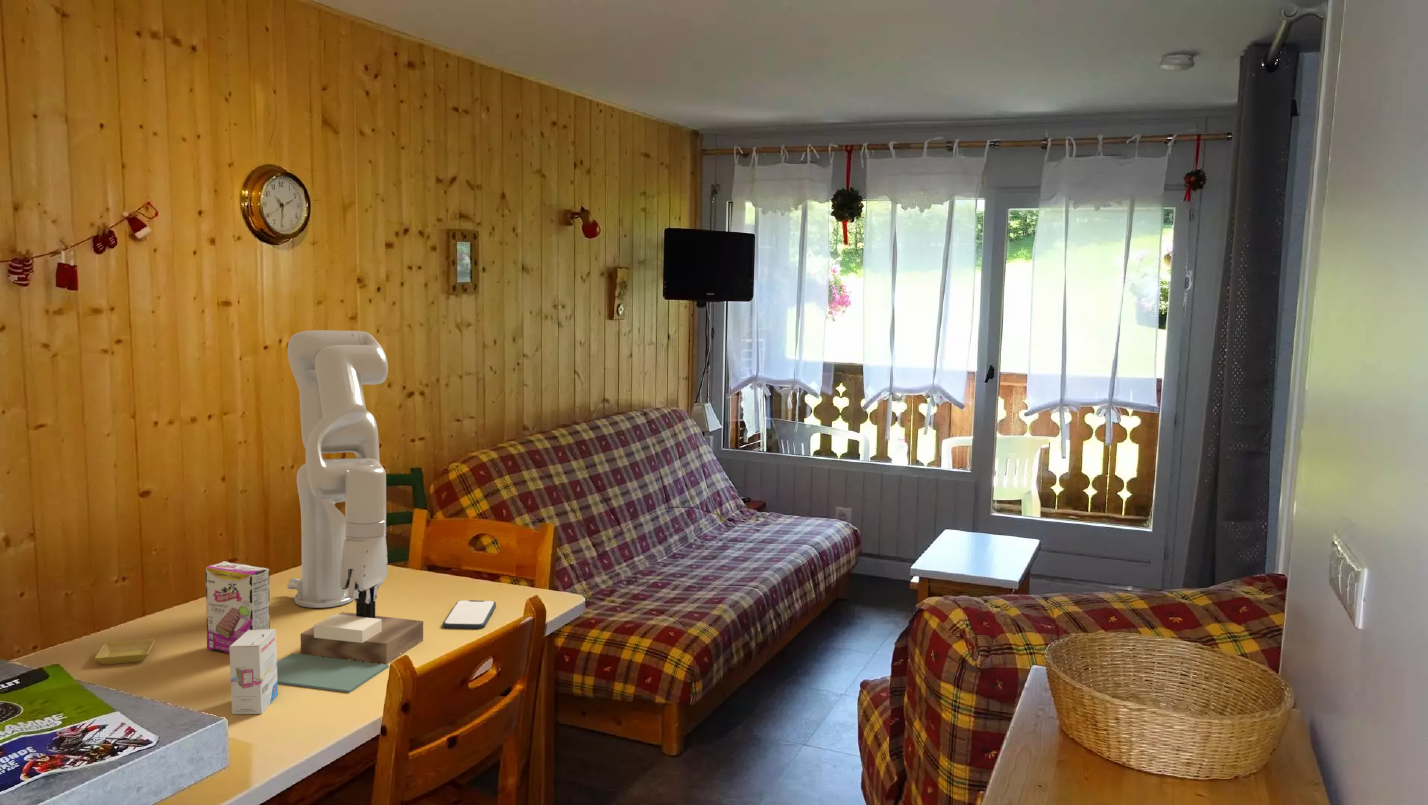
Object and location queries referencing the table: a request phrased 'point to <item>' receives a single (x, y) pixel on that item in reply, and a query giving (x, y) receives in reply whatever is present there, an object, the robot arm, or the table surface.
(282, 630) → the table surface
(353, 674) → the mat
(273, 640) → the ink box
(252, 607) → the candy bar box
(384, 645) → the block
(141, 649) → the yellow square dish
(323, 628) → the tile
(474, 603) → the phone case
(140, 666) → the table surface
